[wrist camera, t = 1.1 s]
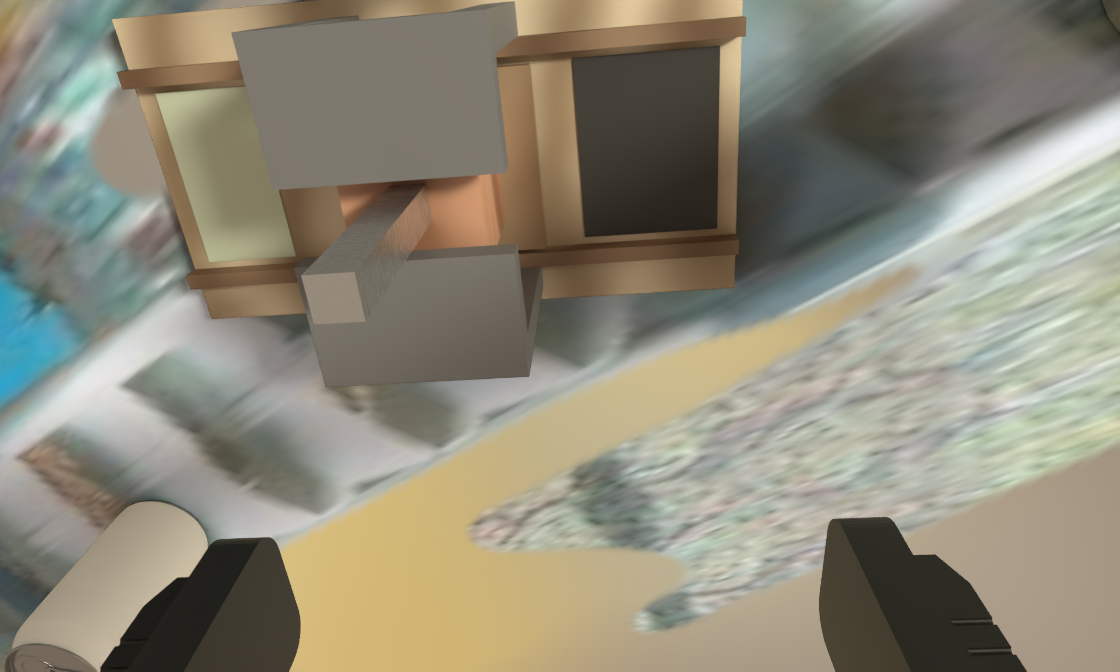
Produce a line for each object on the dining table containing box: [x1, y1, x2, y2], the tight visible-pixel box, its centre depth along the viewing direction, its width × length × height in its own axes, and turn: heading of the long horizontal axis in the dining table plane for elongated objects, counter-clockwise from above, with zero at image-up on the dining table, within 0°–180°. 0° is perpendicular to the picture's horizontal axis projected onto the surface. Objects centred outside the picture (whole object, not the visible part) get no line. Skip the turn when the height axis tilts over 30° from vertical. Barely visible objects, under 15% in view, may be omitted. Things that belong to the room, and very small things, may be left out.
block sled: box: [301, 63, 547, 325], centre depth 29 cm, size 10×9×17 cm
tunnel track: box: [112, 0, 746, 387], centre depth 33 cm, size 30×16×12 cm, turn 95°
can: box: [2, 501, 208, 672], centre depth 46 cm, size 6×6×12 cm
